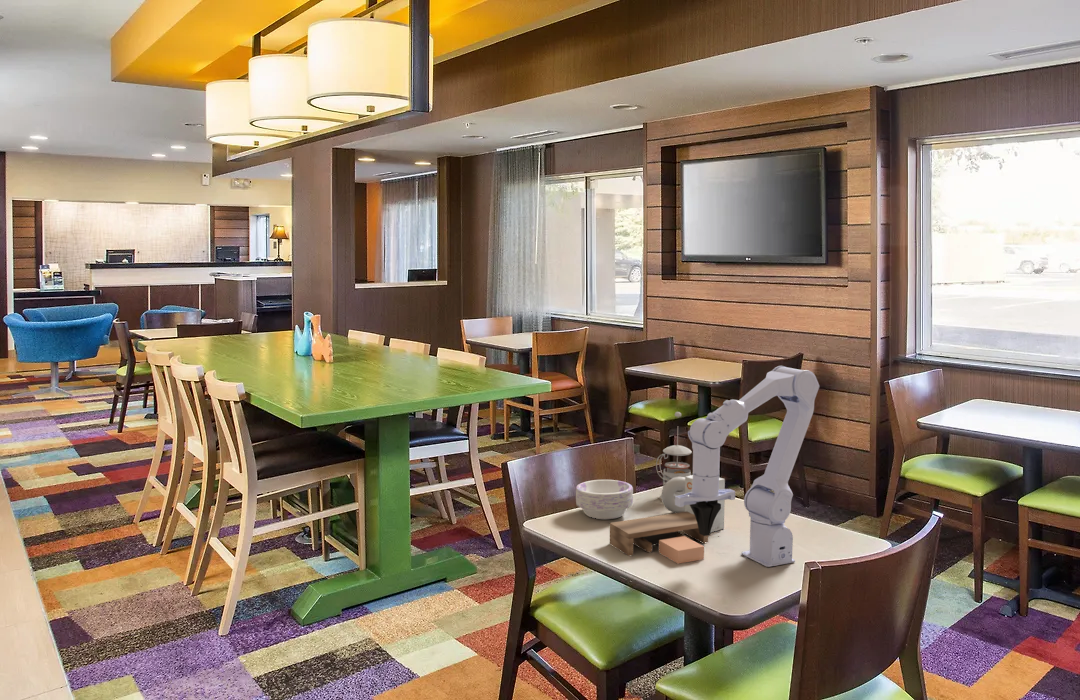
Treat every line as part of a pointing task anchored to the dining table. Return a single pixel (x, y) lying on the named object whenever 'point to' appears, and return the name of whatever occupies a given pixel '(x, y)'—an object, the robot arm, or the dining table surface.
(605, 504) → the paper bowls
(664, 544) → the cover
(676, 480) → the donut
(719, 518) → the small box
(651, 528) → the wooden stand
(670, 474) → the french press
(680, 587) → the dining table surface
